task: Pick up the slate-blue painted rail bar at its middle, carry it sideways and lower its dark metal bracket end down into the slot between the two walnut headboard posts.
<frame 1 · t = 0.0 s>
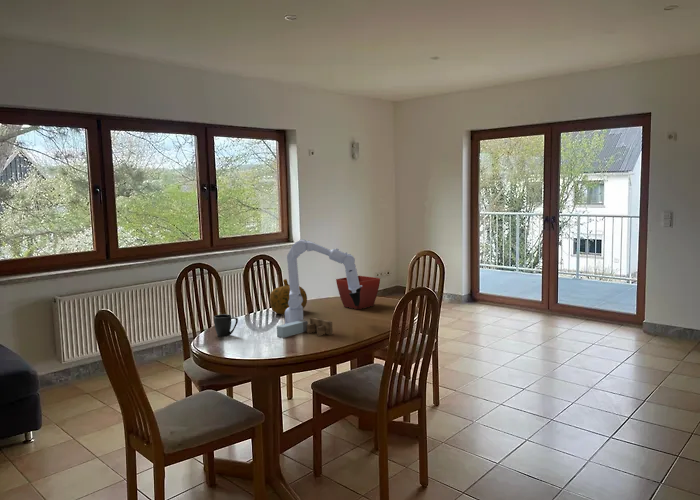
hand: (357, 304, 275), 11 cm above the table, tool pointing down, fingers open, 7 cm apart
rail: (292, 333, 262), on the table
headboard: (319, 332, 262), on the table
decorative pumpkin: (288, 313, 308), on the table
plant pot: (358, 307, 320), on the table
mug: (226, 335, 262), on the table
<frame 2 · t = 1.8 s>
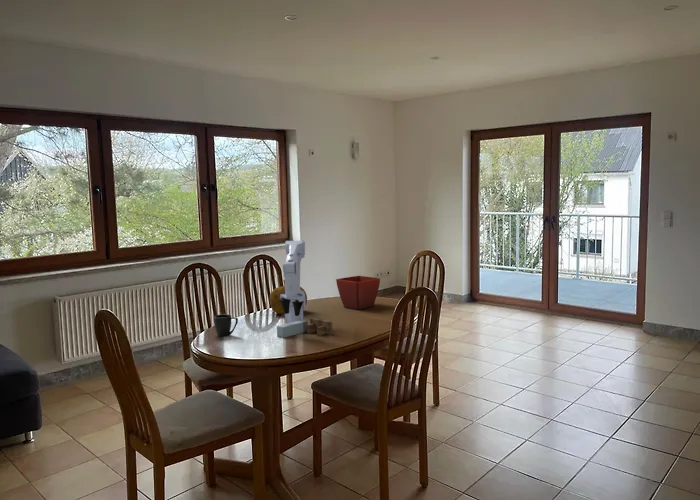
hand: (292, 314, 261), 9 cm above the table, tool pointing down, fingers open, 7 cm apart
nothing on the table moved.
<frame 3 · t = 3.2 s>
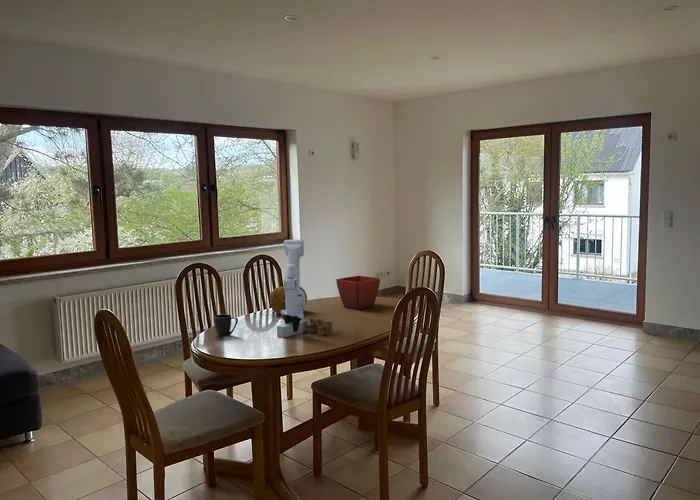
hand: (292, 330, 262), 1 cm above the table, tool pointing down, fingers closed on rail, 4 cm apart
rail: (292, 333, 262), on the table, touching gripper
everything else where it was.
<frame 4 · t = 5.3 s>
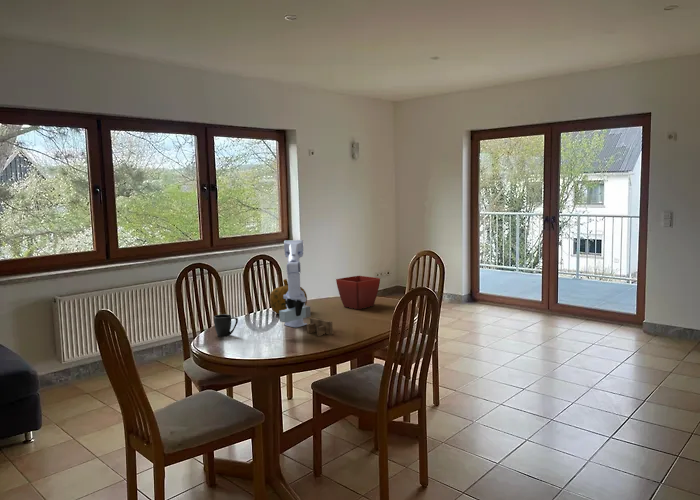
hand: (295, 315, 259), 9 cm above the table, tool pointing down, fingers closed on rail, 4 cm apart
rail: (295, 318, 259), point 8 cm above the table, touching gripper
everything else where it was.
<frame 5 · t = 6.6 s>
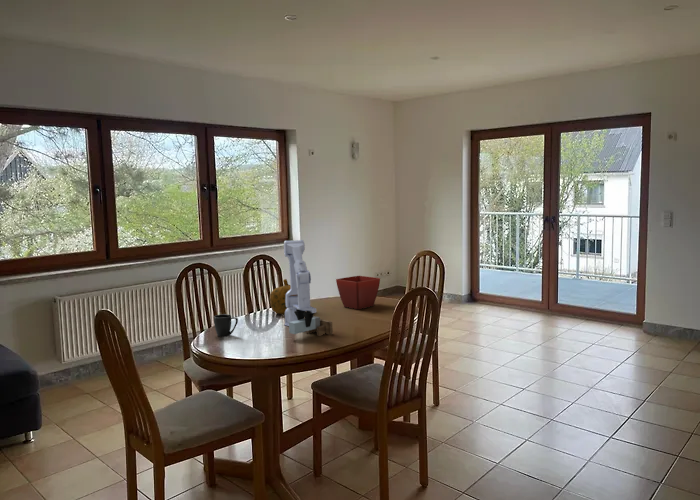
hand: (304, 325, 255), 5 cm above the table, tool pointing down, fingers closed on rail, 4 cm apart
rail: (304, 330, 255), point 3 cm above the table, touching gripper
everything else where it was.
when the fingers open (2 cm above the table, at t = 7.5 s): rail stays where it is, on the table.
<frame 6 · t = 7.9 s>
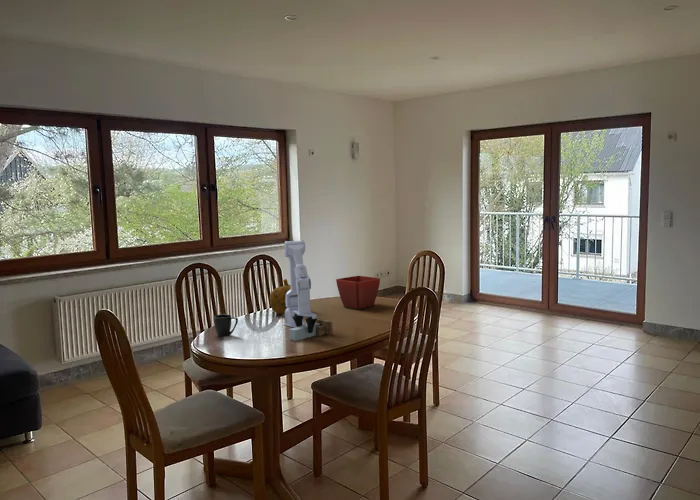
hand: (305, 331, 256), 2 cm above the table, tool pointing down, fingers open, 7 cm apart
rail: (305, 336, 256), on the table
everything else where it was.
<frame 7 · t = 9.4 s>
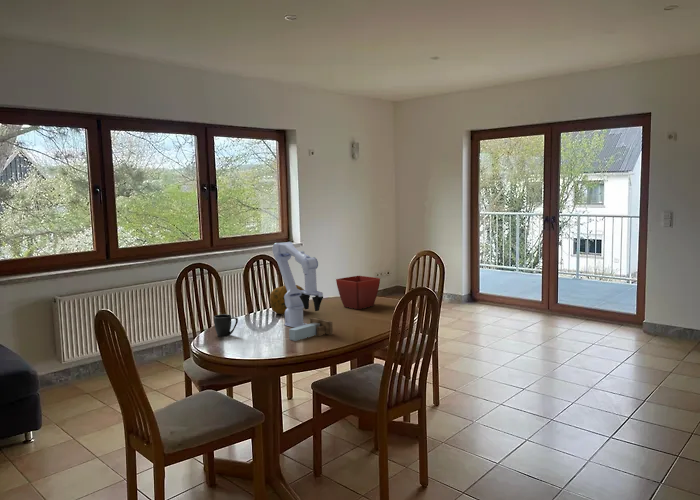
hand: (311, 309, 266), 10 cm above the table, tool pointing down, fingers open, 7 cm apart
nothing on the table moved.
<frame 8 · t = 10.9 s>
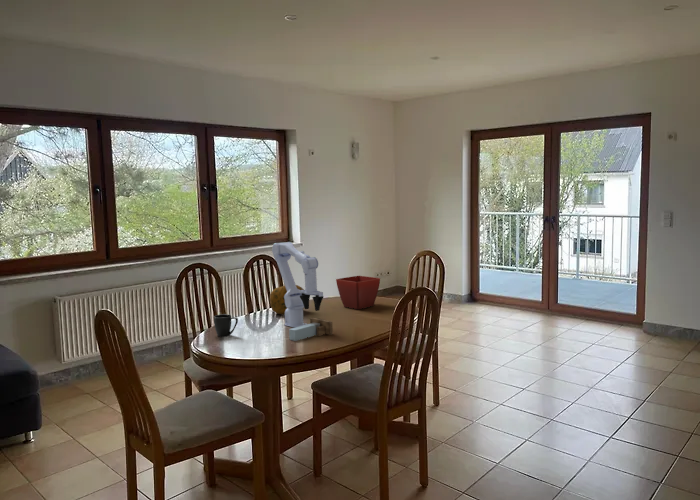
hand: (312, 309, 266), 10 cm above the table, tool pointing down, fingers open, 7 cm apart
nothing on the table moved.
at the end: rail 0.2 cm from the target spot on the table beside the headboard, on the table; rail tilted 0°; the gripper is holding nothing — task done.
